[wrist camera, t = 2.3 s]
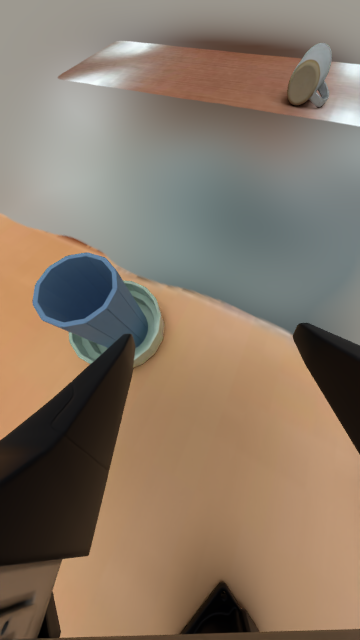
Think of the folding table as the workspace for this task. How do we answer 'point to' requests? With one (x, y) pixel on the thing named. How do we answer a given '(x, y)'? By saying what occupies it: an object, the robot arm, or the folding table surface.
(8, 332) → the folding table surface
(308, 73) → the ceramic mug
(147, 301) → the bowl
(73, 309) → the tumbler
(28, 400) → the folding table surface
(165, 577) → the folding table surface
